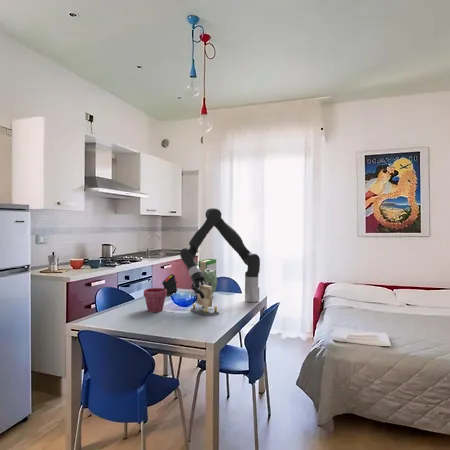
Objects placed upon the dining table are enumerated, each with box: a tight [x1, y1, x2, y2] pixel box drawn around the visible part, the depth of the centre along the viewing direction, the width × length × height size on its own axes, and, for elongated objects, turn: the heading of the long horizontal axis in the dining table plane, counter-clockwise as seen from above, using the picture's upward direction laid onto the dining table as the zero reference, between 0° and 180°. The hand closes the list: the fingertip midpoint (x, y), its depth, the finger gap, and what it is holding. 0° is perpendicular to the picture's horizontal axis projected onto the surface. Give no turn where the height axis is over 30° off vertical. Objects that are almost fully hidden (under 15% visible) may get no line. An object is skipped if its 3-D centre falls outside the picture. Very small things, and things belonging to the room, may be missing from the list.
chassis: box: [190, 302, 220, 317], centre depth 220 cm, size 10×16×4 cm, turn 36°
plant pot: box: [143, 287, 168, 313], centre depth 223 cm, size 14×14×13 cm
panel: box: [197, 285, 213, 308], centre depth 220 cm, size 4×10×12 cm, turn 36°
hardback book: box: [198, 258, 217, 275], centre depth 292 cm, size 18×7×24 cm, turn 158°
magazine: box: [161, 274, 178, 297], centre depth 270 cm, size 4×13×15 cm, turn 149°
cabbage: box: [196, 269, 218, 295], centre depth 266 cm, size 16×19×20 cm
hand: (206, 297), depth 218 cm, fingers closed on panel, 4 cm apart
